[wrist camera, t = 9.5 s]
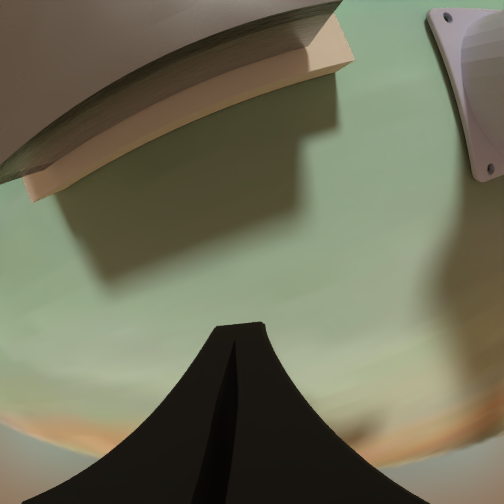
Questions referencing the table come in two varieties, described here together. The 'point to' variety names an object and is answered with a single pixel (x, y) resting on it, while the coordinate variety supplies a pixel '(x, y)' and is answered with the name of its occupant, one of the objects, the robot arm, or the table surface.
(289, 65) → the board
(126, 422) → the table surface
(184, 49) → the cover
